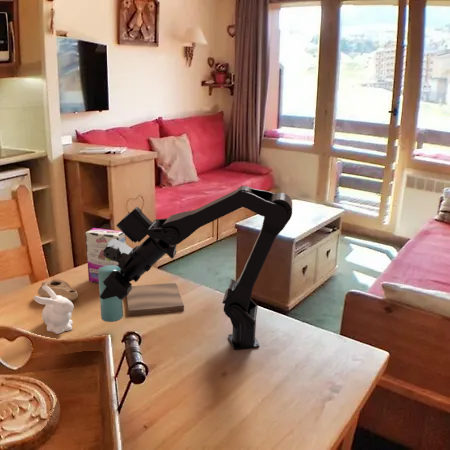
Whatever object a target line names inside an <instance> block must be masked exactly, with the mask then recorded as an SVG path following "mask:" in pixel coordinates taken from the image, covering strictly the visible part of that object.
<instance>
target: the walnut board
mask: <svg viewBox="0 0 450 450" xmlns="http://www.w3.org/2000/svg"><path fill="white" fill-rule="evenodd" d="M126 301H127V310H128V316H137V315H148V314H157V313H158V314H160V313H169V312H170V313H171V312H182V311H184V309H185V306H184V302H183V299H182V296H181V292H180V291H179V288H178V284H177V282H168V283H167V282H166V283H156V284H142V285H132V289H131V291H130V292H129V294H128V295H127V296H126Z"/></svg>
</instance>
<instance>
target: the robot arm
mask: <svg viewBox="0 0 450 450" xmlns="http://www.w3.org/2000/svg"><path fill="white" fill-rule="evenodd" d="M242 208H244V209H247V210H250V211H252V212H253V213H255V214H256V215H259V216H261V217H263V221H262V226H261V228H260V230H259V234H258V236H257V238H256V240H255V242H254V244H253V247H252V250H251V251H250V254H249V256H248V258H247V261H246V263H245V265H244V267H243V270H242V272H241V274H240V276H239V278H237V280H234V279H233V278H231V279H230V282H229V285H228V288H227V289H226V290H225V293H224V296H223V299H222V305H223V312H224V314H225V316H227V318H229V319H230V322H231V325H232V333H230V334H228V335H227V336H228V339H229V341H230V344H231V347H232V348H233V350H245V349H253V348H255V349H256V348H259V347H260V343H259V341H258V339H257V337H256V333H257V330H256V326H257V314H258V304H256V302H254V301H253V299H252V293H253V291H254V290H253V289H254V286H255V284H256V282H257V279H258V277H259V274H260V272H261V271H262V269H263V267H264V264H265V261H266V259H267V258H268V255H269V253H270V252H271V251H270V250H271V248H272V247H273V244H274V243H275V240H276V238H277V237H278V235H279V234H280V233H281V232H282V231H284V229H285V227H286V226H287V224H288V223H289V221H290V220H291V218H292V215H293V200H292V199H291V197H290V196H289V195H288V194H286V193H285V192H276V193H274V192H271V191H268V190H263V189H258V188H257V189H256V188H253V187H249V186H248V185H242V186H239V187H238V188H237V189H235V190H233V191H232V192H229V193H227V194H225V195H222V196H221V197H219V198H216V199H215V200H212V201H210V202H209V203H207V204H205V205H203V206H201V207H198V208H196V209H194V210H188V211H183V212H182V211H181V212H178V213H175V214H171V215H170V216H168V217H167V218H158V219H157V218H156V219H154V220H153V221H152V220H151V219H150V218H149V217H147V215H146V214H145V213H144V212H143V210H142V209H141V208H140V207H139V206H136V207H135V208H133V209H132V211H131V212H128V213H127V215H125V216H124V217H123V218H122V219H121V220H120V221H119V222H118V223H117V224H116V225H115V226H116V227H117V228H118V230H119V231H122V232H123V233H124V234H125V237H126V238H128V239H129V241H131V242H132V243H133V242H134V243H137V242H138V243H140V242H141V241H143V242H142V243H140V245H136V246H135V247H130V246H129V245H128V244H124V243H122V242H121V241H119V240H117V239H111V240H110V241H109V242H108V243H107V246H106V248H105V249H104V250H103V252H104V253H103V255H104V256H105V257H106V258H108V259H110V260H112V261H116V262H119V264H118V265H117V266H118V267H119V268H120V269H121V270H120V271H112V272H111V273H110V274H109V275H108V276H107V277H106V278H105V280H104V281H103V283H104V285H105V286H106V288H105V289H104V291H103V292H102V294H101V295H100V294H99V299H100V298H101V299H107V298H111V297H115V296H117V297H118V298H119V299H120V300H122V301H123V300H124V299H125V298H127V295H128V294H129V292H130V291H131V289H132V286H133V285H132V283H131V282H132V281H134V282H135V283H136V282H138V281H139V279H140V278H141V277H142V276H143V275H144V274H145V273H146V272H149V271H150V270H151V268H152V267H153V266H154V265H155V264H156V263H158V261H159V260H160V259H161V258H163V257H164V256H165V255H167V256H168V257H169V258H170V259H174V257H175V256H176V255H177V246H178V245H179V244H180V243H182V242H183V241H185V240H186V239H187V238H189V237H190V236H191V235H192V234H193V233H194V232H196V231H197V230H199V229H200V228H201V227H204V226H206V225H208V224H210V223H212V222H214V221H216V220H219V219H221V218H223V217H225V216H227V215H229V214H231V213H233V212H236V211H237V210H240V209H242ZM147 236H148V237H147ZM146 237H147V238H146ZM145 238H146V239H145ZM143 239H145V240H143Z"/></svg>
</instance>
